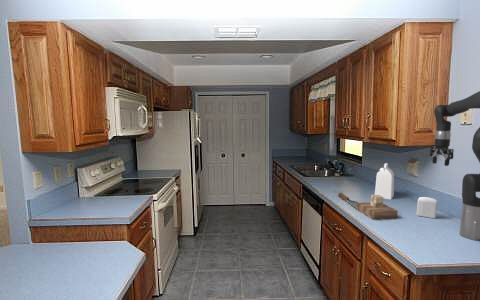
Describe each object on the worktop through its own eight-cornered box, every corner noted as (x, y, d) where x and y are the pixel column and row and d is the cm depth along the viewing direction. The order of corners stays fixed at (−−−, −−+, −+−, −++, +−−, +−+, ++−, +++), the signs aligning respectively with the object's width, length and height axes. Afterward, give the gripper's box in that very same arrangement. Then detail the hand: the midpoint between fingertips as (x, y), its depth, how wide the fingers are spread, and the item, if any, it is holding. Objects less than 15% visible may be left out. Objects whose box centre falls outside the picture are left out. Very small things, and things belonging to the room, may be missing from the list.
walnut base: (397, 218, 171) (397, 210, 170) (373, 219, 169) (373, 211, 168) (378, 208, 189) (378, 201, 188) (356, 209, 186) (357, 202, 186)
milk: (390, 199, 209) (393, 165, 206) (374, 196, 216) (376, 164, 213) (393, 195, 219) (395, 163, 216) (377, 193, 226) (379, 161, 223)
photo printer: (435, 216, 173) (437, 197, 172) (436, 219, 170) (438, 199, 168) (416, 214, 178) (417, 195, 177) (416, 216, 175) (417, 197, 173)
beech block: (382, 207, 176) (383, 196, 175) (375, 207, 175) (376, 197, 174) (377, 205, 181) (378, 194, 180) (370, 205, 180) (371, 194, 179)
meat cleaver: (372, 211, 185) (373, 205, 185) (356, 211, 185) (356, 205, 185) (351, 197, 219) (351, 192, 218) (337, 197, 219) (337, 192, 218)
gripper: (458, 139, 161) (456, 166, 163) (438, 137, 175) (435, 162, 177) (447, 139, 160) (445, 166, 162) (427, 137, 174) (425, 162, 176)
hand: (440, 164), depth 170 cm, fingers open, 8 cm apart
